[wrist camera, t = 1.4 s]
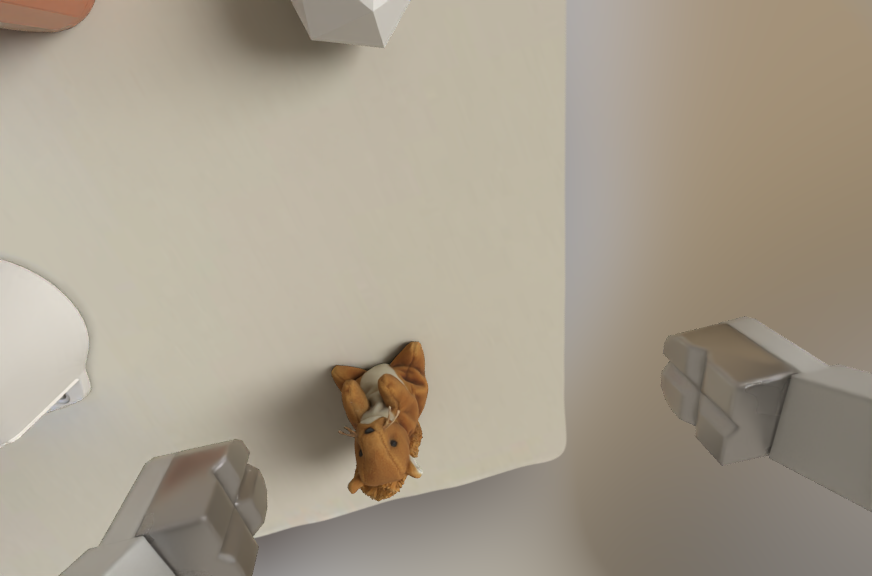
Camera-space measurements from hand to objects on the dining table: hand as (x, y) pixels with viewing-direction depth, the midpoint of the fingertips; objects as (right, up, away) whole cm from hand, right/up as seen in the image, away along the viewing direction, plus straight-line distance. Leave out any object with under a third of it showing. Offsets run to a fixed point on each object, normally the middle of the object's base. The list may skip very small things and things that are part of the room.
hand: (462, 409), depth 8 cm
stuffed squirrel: (-6, -10, +41) cm, 42 cm away
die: (-7, +25, +24) cm, 35 cm away
